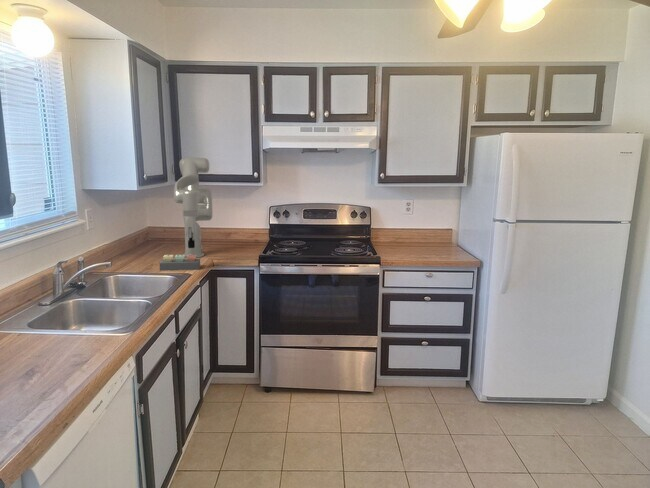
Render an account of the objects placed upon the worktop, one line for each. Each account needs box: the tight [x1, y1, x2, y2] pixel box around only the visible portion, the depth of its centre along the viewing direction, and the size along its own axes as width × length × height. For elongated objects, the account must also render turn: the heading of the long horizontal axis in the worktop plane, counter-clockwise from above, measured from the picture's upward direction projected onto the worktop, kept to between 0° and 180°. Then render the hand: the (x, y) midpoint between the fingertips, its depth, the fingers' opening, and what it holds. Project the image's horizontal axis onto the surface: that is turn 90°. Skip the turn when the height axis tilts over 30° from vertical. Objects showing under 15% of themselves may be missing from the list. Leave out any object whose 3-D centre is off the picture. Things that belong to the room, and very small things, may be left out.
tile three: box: [186, 254, 198, 262], centre depth 231 cm, size 5×5×5 cm
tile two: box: [174, 254, 186, 262], centre depth 230 cm, size 5×5×5 cm
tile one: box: [162, 254, 175, 262], centre depth 229 cm, size 5×5×5 cm
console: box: [159, 258, 201, 272], centre depth 230 cm, size 20×9×4 cm, turn 103°
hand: (191, 247), depth 229 cm, fingers closed
